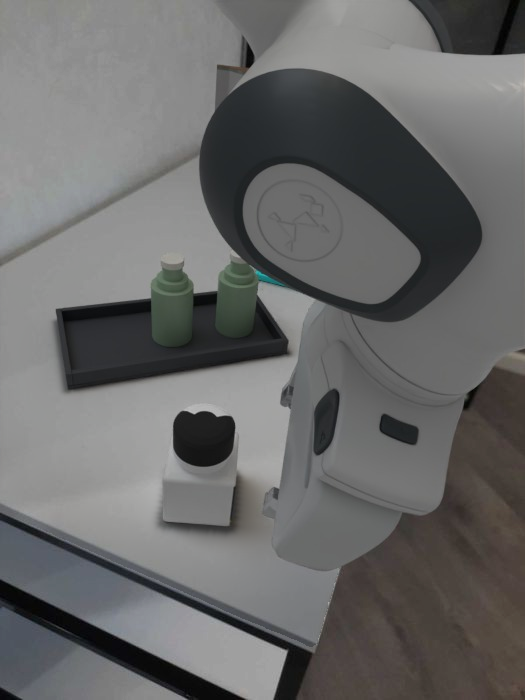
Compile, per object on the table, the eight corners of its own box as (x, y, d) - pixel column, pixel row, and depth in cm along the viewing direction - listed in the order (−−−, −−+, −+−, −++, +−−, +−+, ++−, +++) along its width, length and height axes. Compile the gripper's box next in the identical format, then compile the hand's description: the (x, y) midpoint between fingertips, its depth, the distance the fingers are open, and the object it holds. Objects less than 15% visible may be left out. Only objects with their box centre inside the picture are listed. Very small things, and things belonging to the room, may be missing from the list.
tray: (67, 389, 68) (65, 374, 67) (57, 322, 79) (55, 308, 78) (286, 353, 79) (288, 340, 78) (250, 299, 90) (252, 286, 89)
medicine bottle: (230, 527, 55) (240, 451, 47) (162, 522, 54) (161, 445, 47) (234, 473, 60) (243, 398, 53) (172, 468, 60) (173, 391, 53)
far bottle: (222, 340, 79) (228, 264, 71) (210, 318, 84) (214, 244, 76) (258, 335, 81) (268, 260, 73) (245, 313, 86) (253, 241, 78)
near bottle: (156, 350, 76) (155, 271, 68) (148, 326, 80) (145, 249, 72) (196, 344, 78) (199, 266, 70) (186, 321, 82) (188, 246, 74)
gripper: (347, 223, 36) (264, 336, 46) (324, 498, 23) (216, 573, 33) (422, 261, 37) (326, 363, 47) (443, 540, 24) (304, 600, 34)
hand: (281, 450), depth 40 cm, fingers open, 8 cm apart
